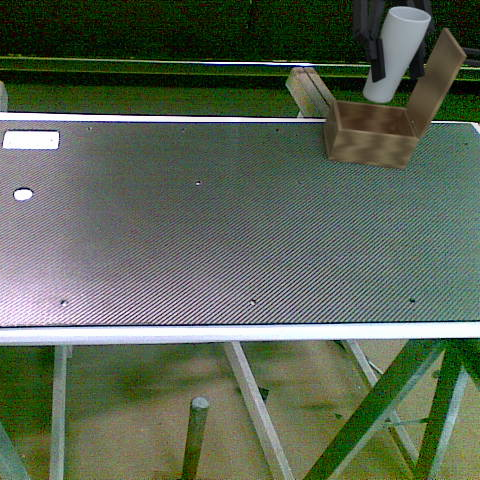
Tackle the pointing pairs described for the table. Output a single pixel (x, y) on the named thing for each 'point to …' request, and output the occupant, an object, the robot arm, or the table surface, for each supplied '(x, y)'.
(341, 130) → the chest
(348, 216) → the table surface
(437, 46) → the chest lid
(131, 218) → the table surface
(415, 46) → the drinking glass
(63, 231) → the table surface
